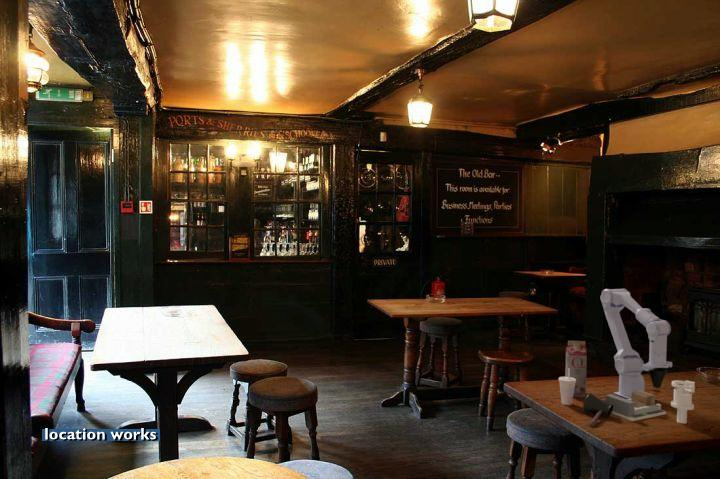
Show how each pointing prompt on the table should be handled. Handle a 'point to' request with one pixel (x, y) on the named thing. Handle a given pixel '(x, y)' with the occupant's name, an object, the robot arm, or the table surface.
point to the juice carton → (577, 366)
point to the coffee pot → (596, 408)
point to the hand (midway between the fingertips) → (656, 387)
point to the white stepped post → (683, 399)
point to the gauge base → (632, 408)
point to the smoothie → (567, 388)
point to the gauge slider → (643, 399)
